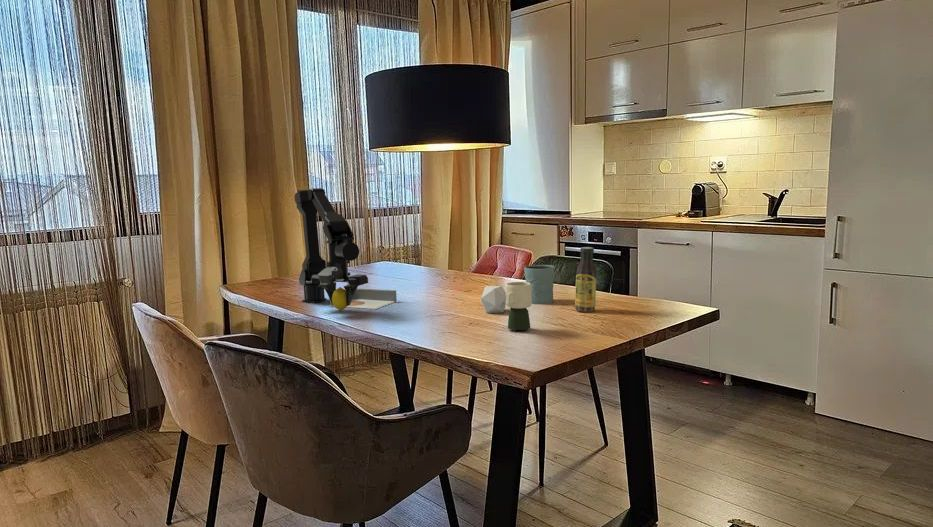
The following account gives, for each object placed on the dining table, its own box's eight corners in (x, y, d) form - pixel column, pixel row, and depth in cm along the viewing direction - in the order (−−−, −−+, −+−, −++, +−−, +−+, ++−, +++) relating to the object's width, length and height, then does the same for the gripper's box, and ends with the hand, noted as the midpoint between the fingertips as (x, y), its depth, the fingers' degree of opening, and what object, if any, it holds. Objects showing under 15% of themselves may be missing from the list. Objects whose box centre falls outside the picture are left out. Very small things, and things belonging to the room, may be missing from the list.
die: (499, 318, 190) (515, 290, 192) (474, 303, 191) (490, 276, 193) (498, 322, 198) (513, 295, 200) (473, 308, 199) (489, 281, 201)
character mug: (517, 324, 178) (516, 279, 176) (539, 327, 174) (538, 281, 173) (498, 332, 169) (496, 285, 167) (521, 335, 165) (520, 287, 164)
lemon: (347, 312, 201) (346, 288, 200) (330, 313, 201) (329, 288, 200) (351, 309, 206) (350, 285, 205) (334, 309, 207) (333, 285, 206)
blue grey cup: (547, 305, 203) (546, 269, 201) (519, 303, 208) (518, 267, 206) (559, 300, 211) (559, 265, 210) (532, 297, 216) (532, 263, 215)
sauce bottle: (572, 312, 192) (572, 248, 189) (578, 308, 198) (578, 246, 195) (593, 313, 189) (593, 248, 186) (598, 309, 194) (598, 246, 192)
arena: (330, 306, 212) (329, 295, 211) (353, 298, 224) (352, 288, 224) (375, 309, 204) (374, 297, 204) (396, 301, 217) (396, 290, 216)
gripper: (298, 260, 198) (302, 308, 200) (348, 262, 190) (350, 311, 193) (320, 256, 208) (323, 301, 210) (367, 257, 200) (370, 304, 203)
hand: (340, 305), depth 204 cm, fingers closed on lemon, 5 cm apart
